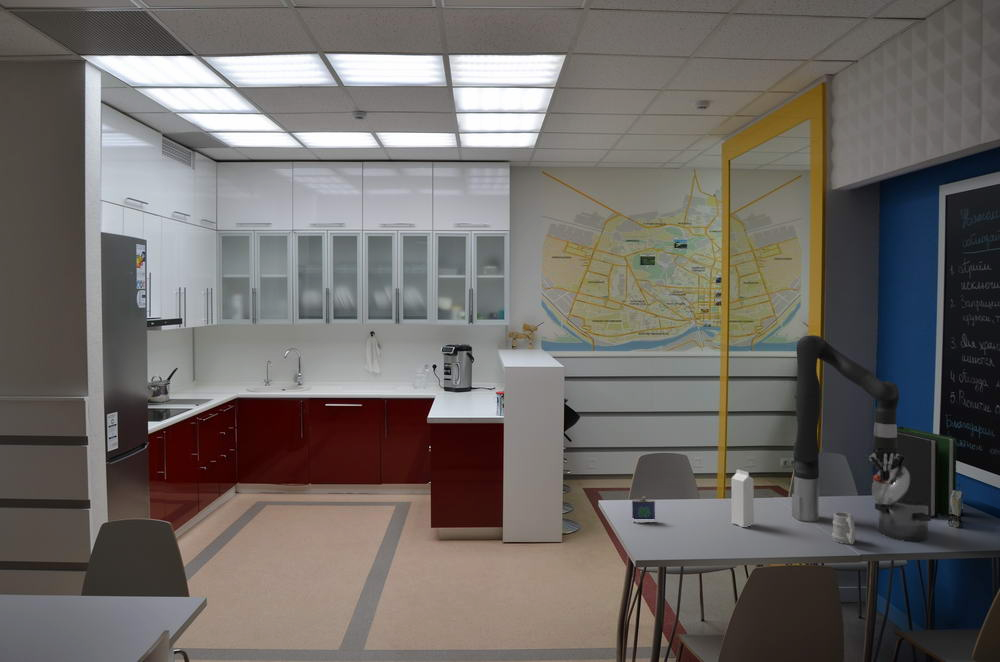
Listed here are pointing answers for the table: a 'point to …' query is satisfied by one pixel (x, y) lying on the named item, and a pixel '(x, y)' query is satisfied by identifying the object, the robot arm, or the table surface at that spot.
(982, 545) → the table surface
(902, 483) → the lid
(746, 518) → the milk
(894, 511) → the pot
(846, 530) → the mug
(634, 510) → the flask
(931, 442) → the binder
